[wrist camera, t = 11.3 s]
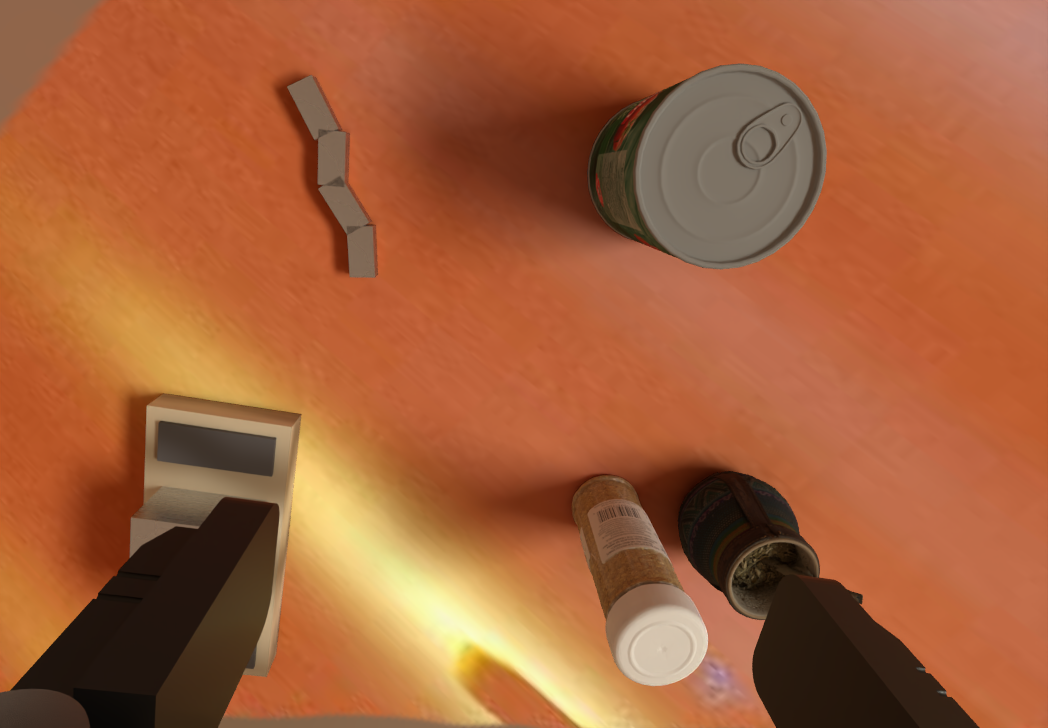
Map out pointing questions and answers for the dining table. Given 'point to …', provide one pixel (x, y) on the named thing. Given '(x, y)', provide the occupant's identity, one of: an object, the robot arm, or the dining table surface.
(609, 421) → the dining table surface
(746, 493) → the mate gourd
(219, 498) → the link
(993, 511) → the dining table surface
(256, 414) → the beige holder base
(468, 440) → the dining table surface
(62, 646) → the robot arm
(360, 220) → the slack chain
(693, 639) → the spice jar
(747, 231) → the canned tomato
